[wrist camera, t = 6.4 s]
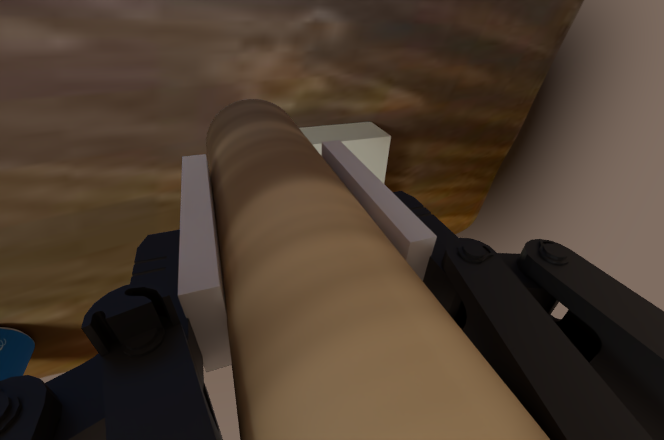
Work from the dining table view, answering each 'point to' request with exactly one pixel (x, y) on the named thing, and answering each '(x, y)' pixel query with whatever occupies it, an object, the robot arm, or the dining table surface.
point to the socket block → (356, 143)
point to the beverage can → (14, 352)
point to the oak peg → (334, 306)
